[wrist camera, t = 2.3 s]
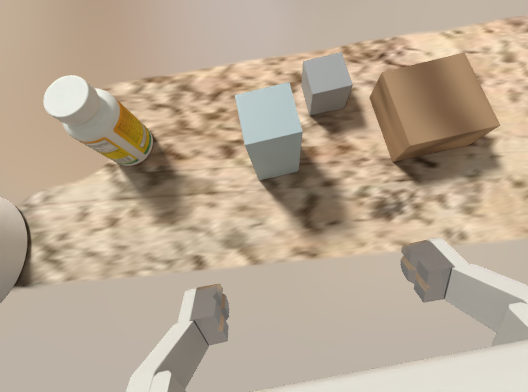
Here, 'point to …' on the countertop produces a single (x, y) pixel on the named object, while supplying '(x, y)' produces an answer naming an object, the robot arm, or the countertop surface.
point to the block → (325, 83)
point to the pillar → (271, 130)
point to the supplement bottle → (98, 120)
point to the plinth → (431, 107)
